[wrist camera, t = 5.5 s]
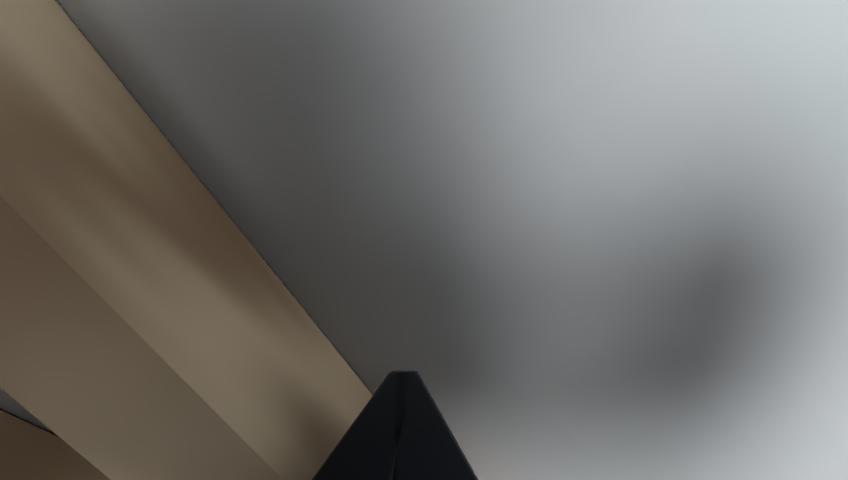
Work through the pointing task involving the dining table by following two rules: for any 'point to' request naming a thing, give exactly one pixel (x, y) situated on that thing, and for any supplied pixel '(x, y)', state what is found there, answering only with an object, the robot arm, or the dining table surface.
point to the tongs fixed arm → (39, 454)
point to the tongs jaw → (142, 287)
